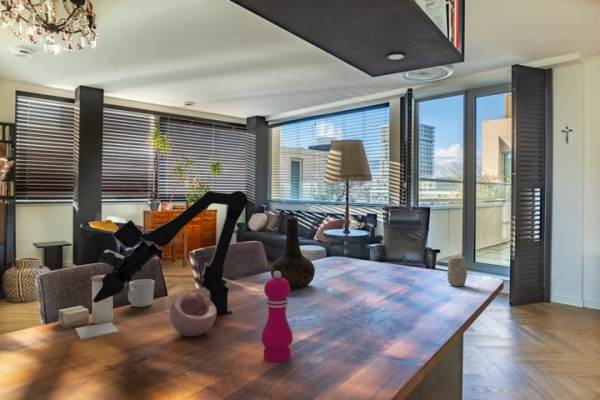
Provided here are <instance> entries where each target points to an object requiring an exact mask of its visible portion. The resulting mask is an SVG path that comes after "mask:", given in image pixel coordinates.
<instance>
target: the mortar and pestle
mask: <svg viewBox="0 0 600 400" xmlns="http://www.w3.org/2000/svg"><path fill="white" fill-rule="evenodd" d="M216 314H217V310H216V307H215V305H214V304H213V303H212V301H210V300H209V298H208V297H207V296H205V295H204V294H201V293H200V292H197V293H189V292H185V293H183V294H180V295H178V296H176V297H175V299H174V300H173V302H172V304H171V306H170V310H169V320H170V323H171V325H172V327H173V329H174V330H175V331H176V332H177V333H179V334H181V335H183V336H185V337H196V336H201V335H202V334H204V333H206V332H207V331H208V330H210V328H212V326H213V324H214V322H215V321H216V318H217V316H216Z"/></svg>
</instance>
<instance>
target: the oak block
mask: <svg viewBox="0 0 600 400" xmlns="http://www.w3.org/2000/svg"><path fill="white" fill-rule="evenodd" d="M85 323H86V324H89V323H90V309H88V308H86V307H85V306H83V305H78V306H72V307H68V308H62V309H58V324H60V326H62V327H64V328H66V329H67V327H68V328H72V327H76V325H77V326H80V325H85Z"/></svg>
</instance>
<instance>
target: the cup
mask: <svg viewBox="0 0 600 400" xmlns="http://www.w3.org/2000/svg"><path fill="white" fill-rule="evenodd" d="M155 284H156V282H155V279H151V278H150V279H149V278H148V279H147V278H146V279H145V278H143V279H141V278H140V279H134V280H130V281H129V282H128V288H129V290H128V292H127V293H128V294H127V300H128V302H129V303H130V304H131V305H132V307H135V308H143V307H144V308H145V307H149V306H150V305H152V303H153V301H154V300H153V299H154V294H155V293H154V291H155Z"/></svg>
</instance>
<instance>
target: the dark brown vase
mask: <svg viewBox="0 0 600 400" xmlns="http://www.w3.org/2000/svg"><path fill="white" fill-rule="evenodd" d="M298 224H299V219H298V218H297V217H288V218H286V222H284V225H286V237H285V238H286V239H285V248H284V253H283V255H282V256H281V257H278V258H277V259H275V260H274V262H273V263H272V265H271V268H270V274H271V278H274V275H273V274H274V272H275V271H279V272H280V273H281V278H284V279H286V280H287V281H288V283H289V285H290V290H297V289H298V290H299V289H302V288H303V289H304V288H305V287H308V286H309V285H310V284H311V283H312V281H313V280H314V277H315V274H316V272H315V271H316V269H315V265H314V263H313V262H312V261H311V260H310V259H309V258H307V257H305V256H304V255H303V254H302V251H301V247H300V240H299V230H298V229H299V227H298Z"/></svg>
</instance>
